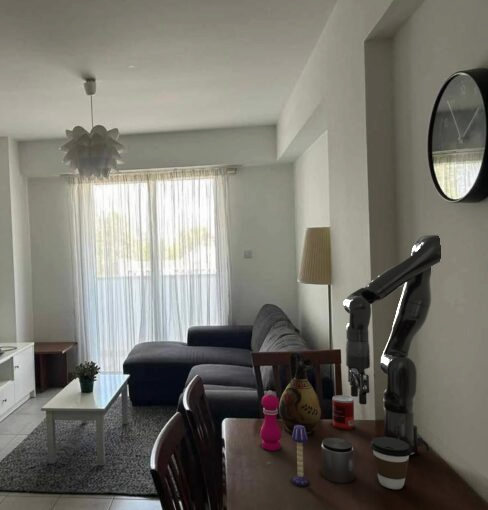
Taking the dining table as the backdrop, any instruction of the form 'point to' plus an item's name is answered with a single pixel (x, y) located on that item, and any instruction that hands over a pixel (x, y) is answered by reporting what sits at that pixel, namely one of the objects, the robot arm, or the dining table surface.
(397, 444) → the coffee cup
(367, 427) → the dining table surface
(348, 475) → the grey metal canister
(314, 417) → the ceramic jug
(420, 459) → the dining table surface
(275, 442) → the pepper mill
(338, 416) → the canned food
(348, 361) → the robot arm
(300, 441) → the toy lamp
